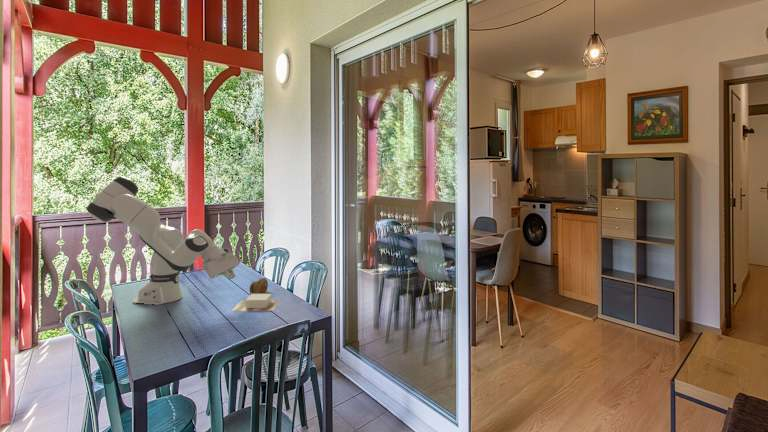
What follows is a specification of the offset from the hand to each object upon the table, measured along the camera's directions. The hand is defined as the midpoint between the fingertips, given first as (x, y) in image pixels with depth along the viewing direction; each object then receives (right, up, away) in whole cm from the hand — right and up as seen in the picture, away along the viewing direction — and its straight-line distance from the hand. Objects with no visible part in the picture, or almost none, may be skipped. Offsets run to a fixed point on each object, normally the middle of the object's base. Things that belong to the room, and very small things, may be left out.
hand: (233, 277), depth 183 cm
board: (+10, -15, +5) cm, 19 cm away
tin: (+5, -13, +23) cm, 27 cm away
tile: (+6, -12, +5) cm, 14 cm away
